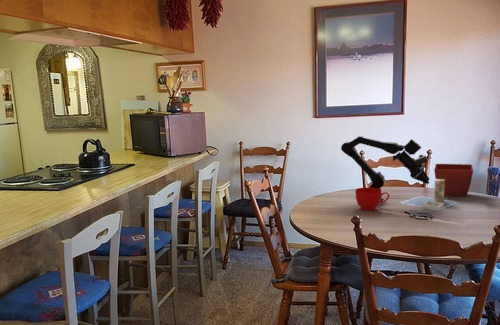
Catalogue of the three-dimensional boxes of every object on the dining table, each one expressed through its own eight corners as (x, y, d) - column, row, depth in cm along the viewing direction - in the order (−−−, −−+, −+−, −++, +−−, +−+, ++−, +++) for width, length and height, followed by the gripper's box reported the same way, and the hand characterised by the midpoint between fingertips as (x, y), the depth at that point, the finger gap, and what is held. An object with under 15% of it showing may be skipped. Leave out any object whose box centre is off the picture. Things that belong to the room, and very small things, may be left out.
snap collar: (421, 206, 201) (422, 204, 200) (427, 203, 206) (427, 200, 206) (438, 209, 195) (438, 206, 195) (444, 205, 201) (444, 202, 201)
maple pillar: (434, 202, 207) (435, 180, 205) (434, 200, 211) (435, 179, 209) (443, 203, 205) (444, 181, 203) (443, 201, 209) (444, 179, 207)
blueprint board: (438, 212, 193) (438, 210, 192) (398, 204, 210) (398, 202, 210) (459, 204, 206) (459, 202, 205) (420, 197, 223) (420, 195, 223)
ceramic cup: (391, 212, 197) (391, 193, 195) (356, 212, 200) (356, 193, 198) (387, 205, 209) (387, 187, 208) (354, 205, 213) (354, 187, 211)
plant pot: (433, 197, 221) (434, 168, 219) (435, 190, 238) (435, 163, 235) (472, 200, 212) (473, 170, 210) (471, 192, 229) (472, 164, 227)
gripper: (417, 152, 200) (440, 174, 197) (419, 148, 217) (440, 168, 214) (401, 167, 205) (423, 189, 202) (403, 162, 222) (424, 181, 218)
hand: (428, 181), depth 209 cm, fingers open, 9 cm apart
